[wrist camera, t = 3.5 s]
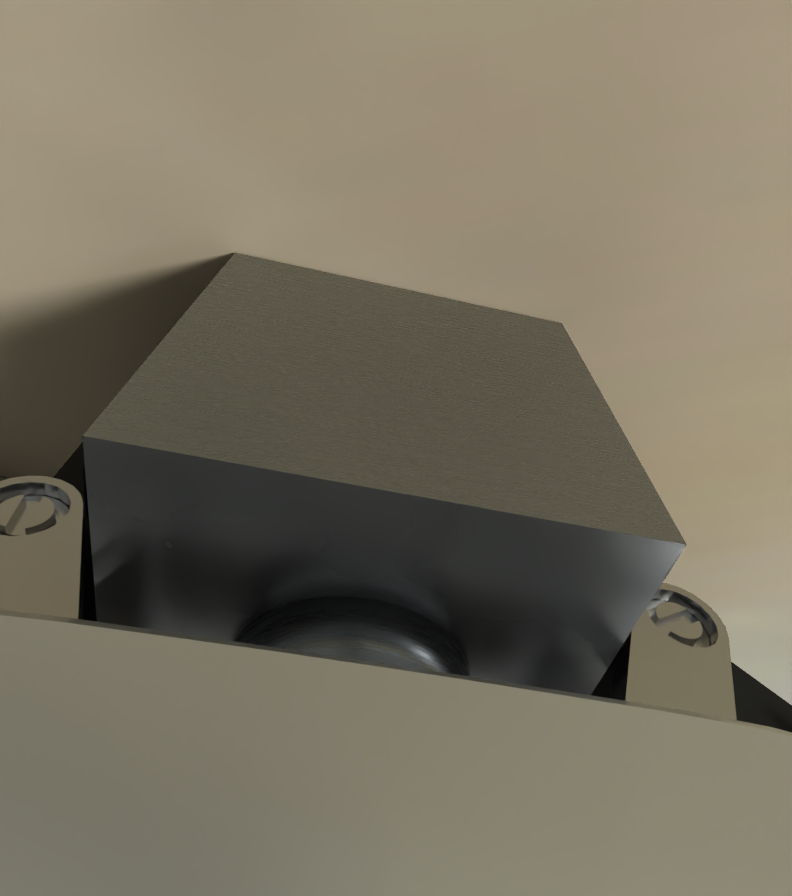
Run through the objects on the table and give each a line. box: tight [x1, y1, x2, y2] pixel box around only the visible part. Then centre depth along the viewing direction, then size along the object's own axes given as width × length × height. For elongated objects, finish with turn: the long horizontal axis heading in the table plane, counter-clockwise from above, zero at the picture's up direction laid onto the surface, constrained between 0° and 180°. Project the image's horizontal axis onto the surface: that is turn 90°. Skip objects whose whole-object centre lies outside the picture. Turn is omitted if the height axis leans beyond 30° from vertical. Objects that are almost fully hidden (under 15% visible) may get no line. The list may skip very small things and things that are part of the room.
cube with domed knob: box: [83, 253, 686, 695], centre depth 10 cm, size 6×6×7 cm
